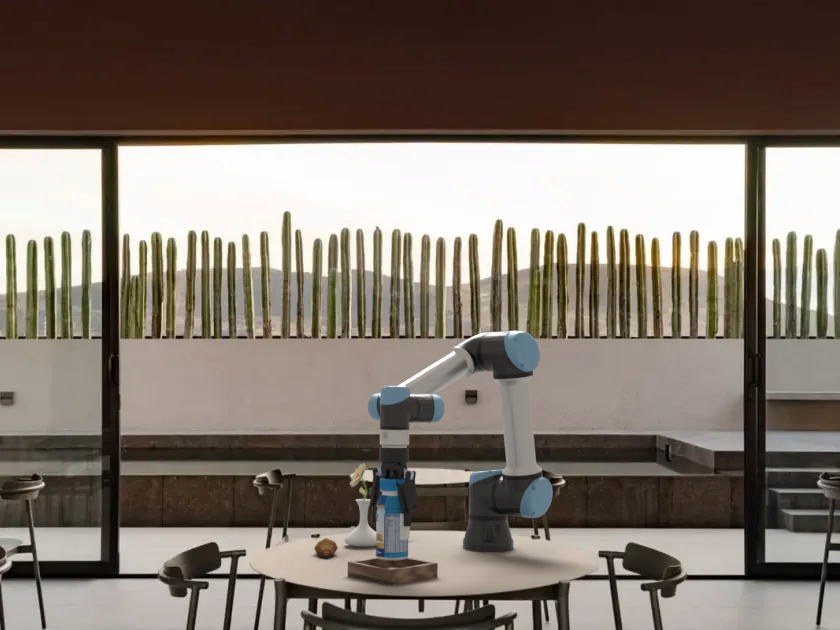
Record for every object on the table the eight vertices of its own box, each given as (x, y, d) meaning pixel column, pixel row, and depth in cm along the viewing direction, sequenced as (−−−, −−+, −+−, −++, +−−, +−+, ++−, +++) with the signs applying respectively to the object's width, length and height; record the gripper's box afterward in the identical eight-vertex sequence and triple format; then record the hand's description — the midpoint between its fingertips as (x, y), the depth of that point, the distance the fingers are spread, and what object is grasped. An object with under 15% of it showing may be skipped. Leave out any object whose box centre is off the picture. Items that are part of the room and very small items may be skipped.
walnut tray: (394, 568, 255) (394, 554, 255) (437, 577, 243) (437, 563, 244) (347, 576, 244) (347, 561, 244) (390, 585, 232) (390, 570, 232)
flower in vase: (346, 543, 296) (347, 460, 298) (383, 543, 296) (384, 461, 298) (341, 550, 283) (342, 463, 285) (380, 550, 283) (381, 464, 285)
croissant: (339, 559, 268) (339, 541, 269) (314, 560, 267) (315, 541, 268) (336, 551, 282) (336, 534, 282) (313, 552, 281) (313, 534, 281)
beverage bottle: (397, 562, 238) (399, 480, 240) (368, 559, 242) (370, 478, 244) (414, 557, 245) (415, 477, 247) (386, 554, 250) (387, 476, 251)
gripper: (356, 445, 251) (354, 534, 249) (411, 449, 236) (410, 543, 234) (377, 444, 256) (376, 531, 254) (433, 448, 241) (432, 540, 239)
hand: (392, 537), depth 244 cm, fingers closed on beverage bottle, 8 cm apart
